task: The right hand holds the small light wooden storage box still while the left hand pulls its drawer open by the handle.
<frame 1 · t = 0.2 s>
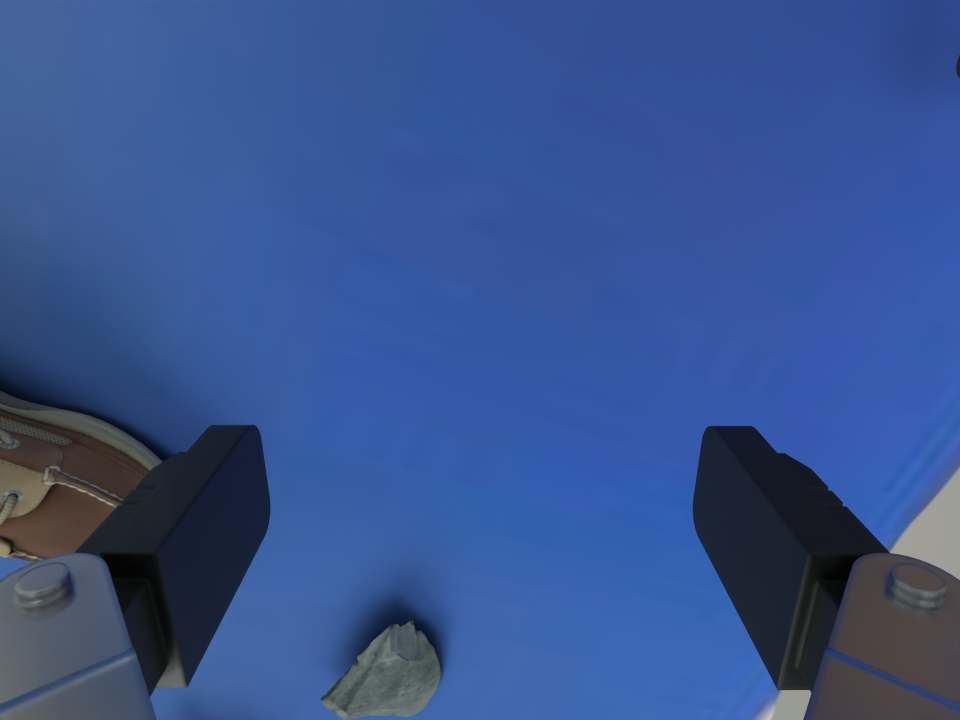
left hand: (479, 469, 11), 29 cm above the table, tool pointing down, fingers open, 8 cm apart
stone: (397, 660, 51), on the table
boat shoe: (25, 441, 44), on the table
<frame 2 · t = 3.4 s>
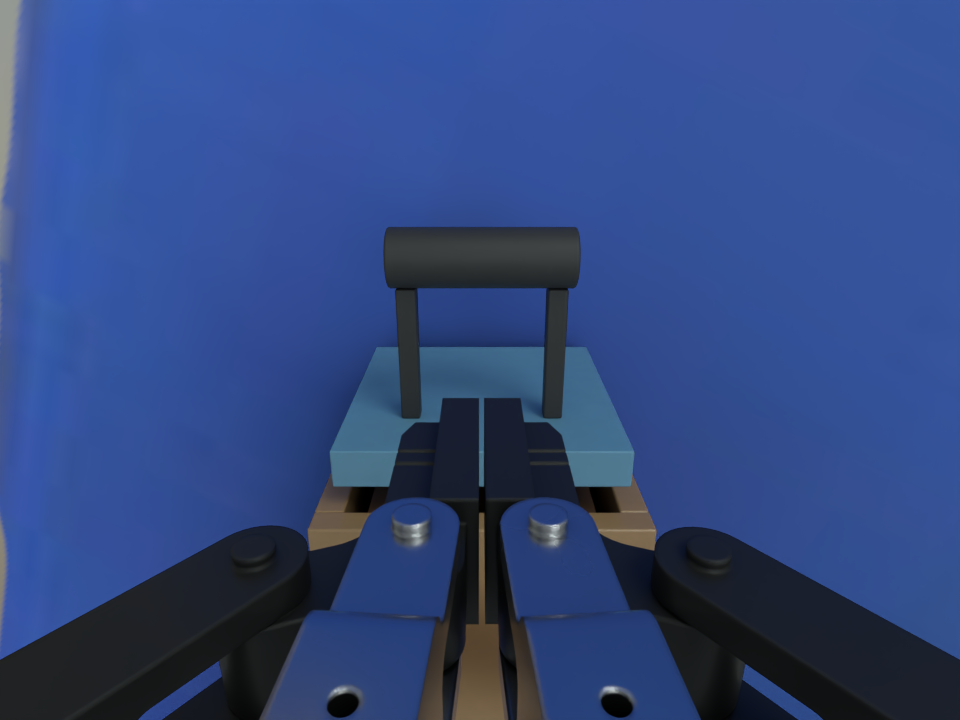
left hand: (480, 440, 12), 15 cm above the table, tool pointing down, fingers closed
drawer: (481, 551, 25), point 5 cm above the table, slide at 0.8 cm
wooden storage box: (481, 573, 32), on the table, touching right hand
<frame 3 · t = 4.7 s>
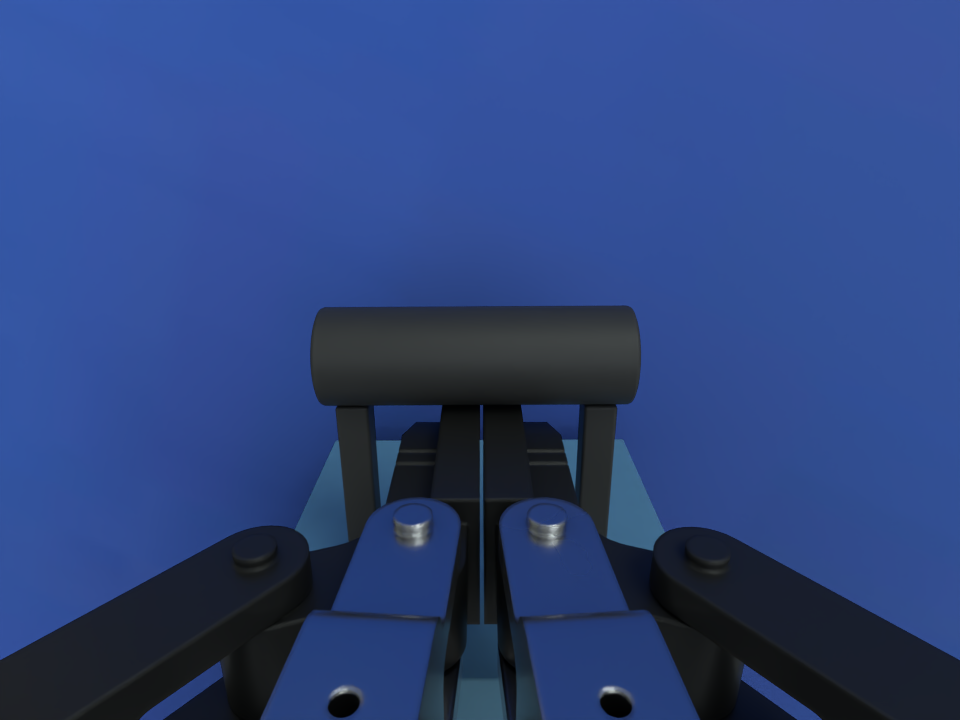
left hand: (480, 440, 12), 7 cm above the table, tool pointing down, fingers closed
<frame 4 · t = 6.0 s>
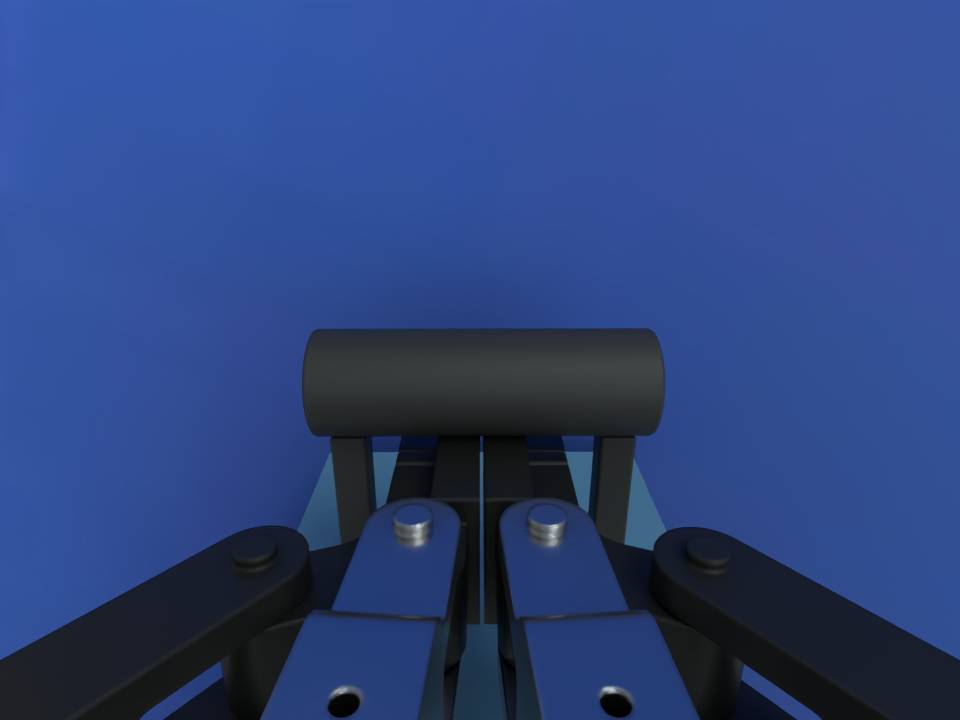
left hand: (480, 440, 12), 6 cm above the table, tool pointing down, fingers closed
when the right hand's fingers open (6 cm above the table, at t = 7.7 s): wooden storage box stays where it is, on the table.
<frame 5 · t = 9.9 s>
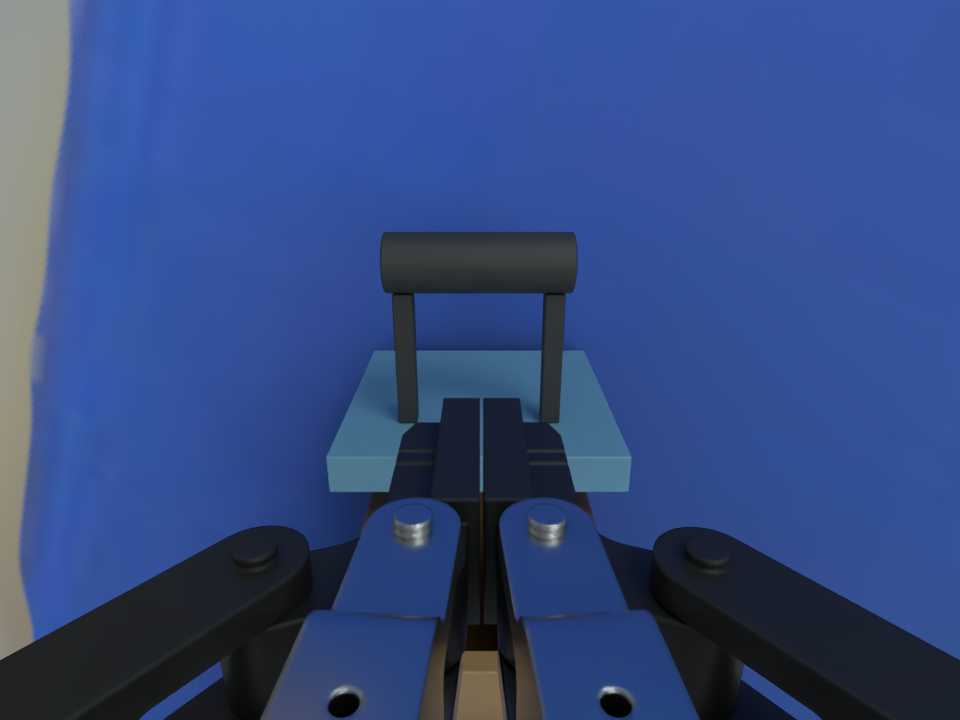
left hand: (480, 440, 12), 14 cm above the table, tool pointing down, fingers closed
drawer: (479, 555, 24), point 5 cm above the table, slide at 6.0 cm
wooden storage box: (479, 654, 33), on the table
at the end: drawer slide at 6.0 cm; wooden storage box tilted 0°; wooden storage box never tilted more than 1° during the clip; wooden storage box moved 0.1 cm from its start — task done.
